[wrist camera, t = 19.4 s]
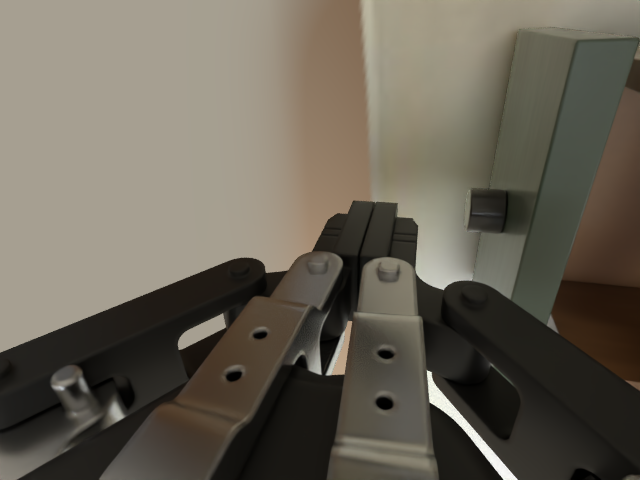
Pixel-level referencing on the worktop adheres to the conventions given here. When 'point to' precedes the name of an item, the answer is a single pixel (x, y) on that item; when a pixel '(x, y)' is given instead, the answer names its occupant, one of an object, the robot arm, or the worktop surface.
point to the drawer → (568, 193)
